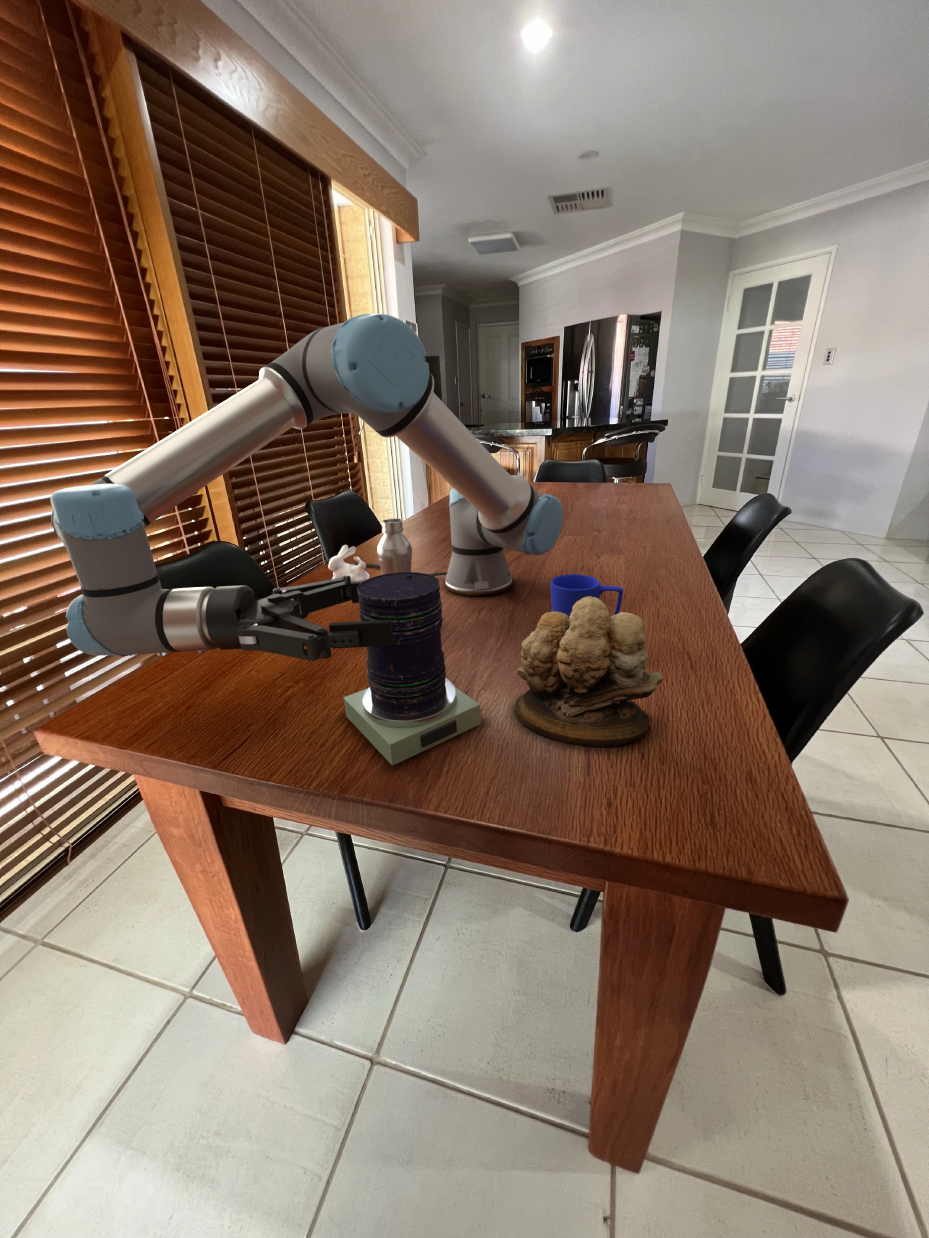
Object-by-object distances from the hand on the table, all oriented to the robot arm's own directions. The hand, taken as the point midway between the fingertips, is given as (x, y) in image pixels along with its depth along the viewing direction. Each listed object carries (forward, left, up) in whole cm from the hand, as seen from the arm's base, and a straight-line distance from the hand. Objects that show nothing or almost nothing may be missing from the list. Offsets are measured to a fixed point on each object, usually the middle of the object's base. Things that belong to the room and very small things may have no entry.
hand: (397, 609), depth 59 cm
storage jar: (0, 0, -12) cm, 12 cm away
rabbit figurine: (-56, +17, -16) cm, 61 cm away
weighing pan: (0, 0, -13) cm, 13 cm away
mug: (-3, +37, -16) cm, 41 cm away
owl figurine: (+14, +18, -16) cm, 28 cm away
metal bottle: (-29, +15, -16) cm, 36 cm away
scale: (0, 0, -16) cm, 16 cm away
